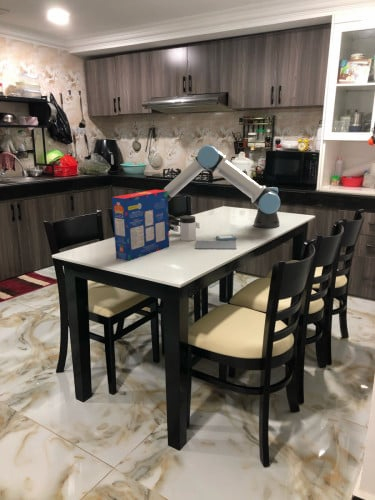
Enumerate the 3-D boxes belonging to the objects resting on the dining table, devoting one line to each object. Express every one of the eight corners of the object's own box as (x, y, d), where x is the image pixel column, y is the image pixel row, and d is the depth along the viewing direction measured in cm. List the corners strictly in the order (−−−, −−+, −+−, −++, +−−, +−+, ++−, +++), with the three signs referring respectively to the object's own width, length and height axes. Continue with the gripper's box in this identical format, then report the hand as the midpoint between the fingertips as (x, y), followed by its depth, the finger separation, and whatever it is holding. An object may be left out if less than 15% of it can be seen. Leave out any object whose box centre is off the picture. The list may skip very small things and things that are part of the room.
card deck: (232, 238, 209) (232, 234, 208) (235, 241, 203) (235, 237, 202) (215, 239, 207) (215, 235, 207) (218, 242, 201) (219, 238, 201)
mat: (235, 241, 200) (235, 240, 200) (236, 249, 186) (236, 248, 186) (196, 241, 201) (196, 240, 201) (195, 248, 188) (195, 248, 188)
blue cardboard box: (157, 244, 197) (155, 189, 190) (169, 246, 193) (167, 190, 185) (116, 258, 176) (111, 197, 168) (128, 261, 172) (124, 198, 164)
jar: (198, 237, 209) (198, 216, 205) (192, 241, 201) (192, 219, 198) (183, 236, 212) (183, 215, 209) (177, 240, 205) (176, 217, 202)
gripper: (185, 224, 229) (207, 230, 212) (148, 230, 215) (168, 238, 199) (184, 211, 227) (207, 217, 210) (147, 217, 213) (168, 223, 196)
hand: (188, 227), depth 204 cm, fingers open, 13 cm apart
